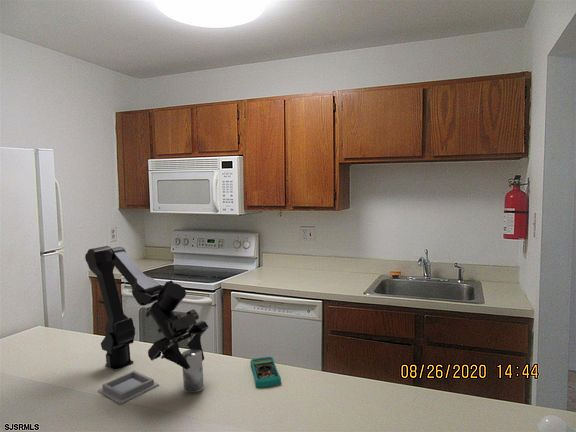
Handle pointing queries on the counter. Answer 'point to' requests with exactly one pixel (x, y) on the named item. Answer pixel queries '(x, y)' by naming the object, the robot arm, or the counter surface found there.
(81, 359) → the counter surface
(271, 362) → the digital multimeter
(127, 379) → the holder
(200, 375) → the metal cylinder
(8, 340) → the counter surface
